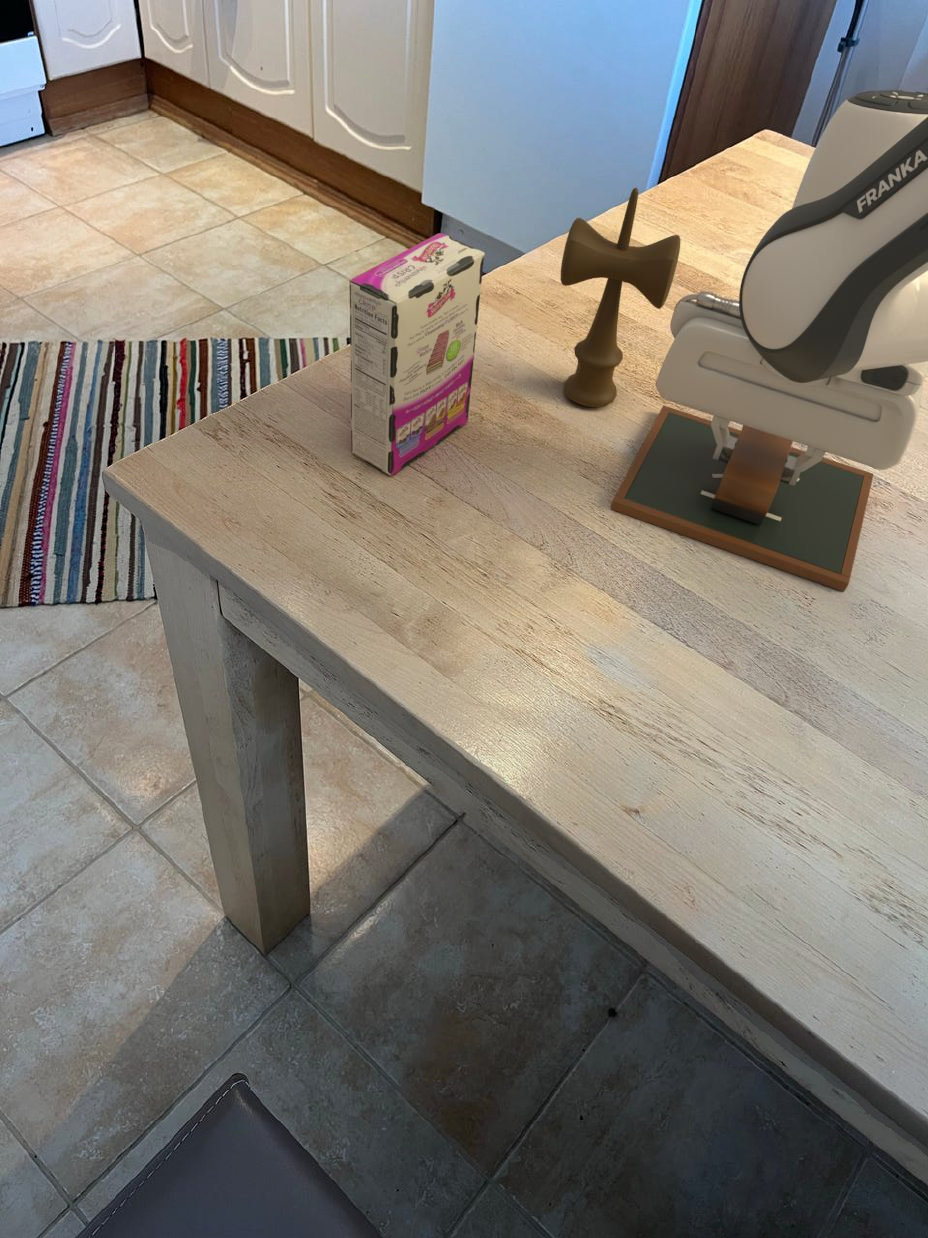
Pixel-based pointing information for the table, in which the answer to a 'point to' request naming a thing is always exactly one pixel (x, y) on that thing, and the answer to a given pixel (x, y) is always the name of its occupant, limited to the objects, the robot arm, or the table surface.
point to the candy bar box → (412, 350)
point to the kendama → (612, 297)
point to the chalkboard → (787, 539)
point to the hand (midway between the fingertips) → (754, 468)
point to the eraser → (752, 475)
